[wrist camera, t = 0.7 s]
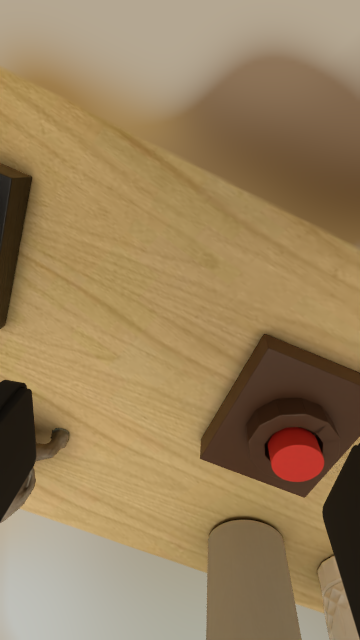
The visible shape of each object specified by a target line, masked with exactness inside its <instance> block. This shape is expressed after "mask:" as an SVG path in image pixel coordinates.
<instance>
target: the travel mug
mask: <svg viewBox="0 0 360 640" xmlns="http://www.w3.org/2000/svg"><path fill="white" fill-rule="evenodd" d="M207 577H208V579H207V630H206V640H302V639H301V634H300V628H299V623H298V617H297V612H296V606H295V601H294V595H293V590H292V584H291V579H290V573H289V568H288V562H287V557H286V551H285V545H284V541H283V538H282V536H281V535H280V533H279V532H278V531H277V530H275V529H274V528H272V527H271V526H269V525H267V524H264V523H262V522H258V521H253V520H234V521H229V522H226V523H223V524H221V525H219V526H217V527H216V528H215V529H214V530H213V531H212V532H211V533H210V535H209V538H208V574H207Z"/></svg>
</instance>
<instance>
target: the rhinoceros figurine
mask: <svg viewBox="0 0 360 640" xmlns="http://www.w3.org/2000/svg"><path fill="white" fill-rule="evenodd" d="M51 439H52V440H51V441H50V442H49V443H47V444H40V443H39V444H37V443H36V461H38V460H42V459H47V458H52V457H53V456H54V455H56V453H57V452H58V451H59V450H60V449H61V448H65V446H66V444H67V442H68V440H69V432H68V431H66V430H64V429H61V428H56V429H54V430H52V436H51ZM36 461H35V462H36ZM35 482H36V479H35V471H34V468H32V470H31V472H30V473H29V475H28V477H27V478H26V480H25V482H24V483H23V485H22V487H21V488H20V490H19V492H18V493H17V495H16V497H15V499H14V500H13V502H12V504H11V505H10V507H9V509H8V510H7V512H6V514H5V515H4V517H3V519H2V520H1V522H3V521H4V520H6V519H7V518H8V517H9V516H11V515H12V514H13V513H14V512H15V511H17V510H18V509H19V508H20V507H21V506H22V505H23V504H24V503H25V501H26V499H27V498H28V496H29V495H30V494H31V492H32V490H33V488H34V486H35ZM1 522H0V523H1Z"/></svg>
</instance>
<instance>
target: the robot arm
mask: <svg viewBox="0 0 360 640" xmlns="http://www.w3.org/2000/svg"><path fill="white" fill-rule="evenodd" d="M35 461H36V441H35V428H34V415H33V402H32V392H31V390H30V389H27V386H26V384H25V383H21V382H15V381H9V380H3V381H2V382H0V522H1V520H2V519H3V517H4V515H5V514H6V512H7V510H8V509H9V507H10V505H11V504H12V502H13V500H14V499H15V497H16V495H17V493H18V492H19V490H20V488H21V487H22V485H23V483H24V482H25V480H26V478H27V477H28V475H29V473H30V472H31V470H32V468H33V466H34V464H35ZM323 520H324V523H325V526H326V530H327V533H328V536H329V540H330V543H331V546H332V550H333V553H334V556H335V560H336V563H337V566H338V569H339V573H340V576H341V579H342V583H343V586H344V589H345V593H346V596H347V599H348V603H349V606H350V609H351V613H352V616H353V619H354V623H355V626H356V629H357V632H358V636H359V639H360V443H359V445H355V446H353V448H352V449H351V451H350V453H349V455H348V457H347V459H346V461H345V463H344V465H343V467H342V469H341V471H340V473H339V475H338V477H337V479H336V481H335V483H334V485H333V487H332V489H331V491H330V493H329V495H328V497H327V499H326V501H325V503H324V506H323Z"/></svg>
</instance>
